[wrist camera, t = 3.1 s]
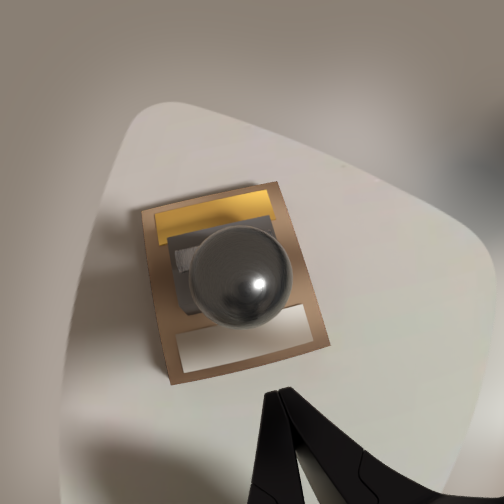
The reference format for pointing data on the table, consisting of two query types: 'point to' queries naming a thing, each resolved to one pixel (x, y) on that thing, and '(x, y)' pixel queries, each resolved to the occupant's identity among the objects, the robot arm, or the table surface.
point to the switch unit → (186, 311)
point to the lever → (238, 276)
